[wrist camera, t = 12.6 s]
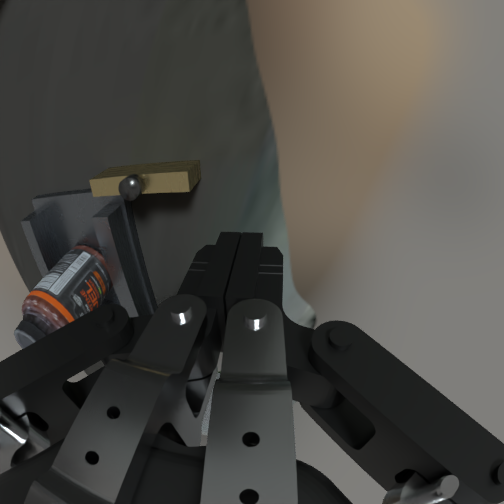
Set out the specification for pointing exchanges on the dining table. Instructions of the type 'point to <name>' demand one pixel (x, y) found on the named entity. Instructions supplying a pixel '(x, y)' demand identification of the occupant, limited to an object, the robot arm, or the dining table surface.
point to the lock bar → (146, 179)
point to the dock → (93, 242)
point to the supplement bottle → (64, 294)
